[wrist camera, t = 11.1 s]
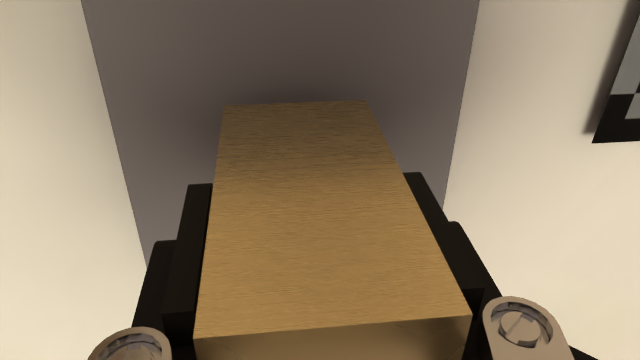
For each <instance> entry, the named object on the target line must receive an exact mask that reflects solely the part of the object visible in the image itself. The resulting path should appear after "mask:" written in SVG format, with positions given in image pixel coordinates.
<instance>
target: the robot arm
mask: <svg viewBox="0 0 640 360" xmlns="http://www.w3.org/2000/svg"><path fill="white" fill-rule="evenodd" d="M403 175H404V177H405V179H406V181H407V183H408V185H409V187H410V189H411V191H412V193H413V195H414V197H415V199H416V201H417V203H418V205H419V207H420V210H421V212H422V214H423V216H424V218H425V220H426V222H427V224H428V226H429V228H430V230H431V232H432V234H433V236H434V238H435V240H436V242H437V244H438V246H439V248H440V250H441V252H442V254H443V256H444V258H445V260H446V262H447V264H448V266H449V268H450V270H451V272H452V274H453V276H454V278H455V280H456V282H457V284H458V286H459V288H460V290H461V292H462V294H463V296H464V298H465V300H466V302H467V304H468V306H469V308H470V310H471V312H472V314H473V316H472V320H471V324H470V328H469V332H468V336H467V340H466V344H465V347H464V351H463V355H462V359H461V360H598V359H596V358H594V357H592V356H590V355H588V354H586V353H584V352H582V351H579V350H577V349H575V348H573V347H571V346H569V345H568V343H567V341H566V339H565V337H564V334H563V332H562V330H561V328H560V326H559V324H558V322H557V321H556V319H555V318H554V317H553V316H552V315H551V314H550V313H549V312H548V311H547V310H546V309H545V308H543V307H541V306H540V305H538V304H537V303H535V302H532V301H530V300H527V299H524V298H520V297H514V296H505V297H503V296H502V295H501V293H500V291H499V290H498V288H497V286H496V284H495V283H494V281H493V279H492V278H491V276H490V274H489V273H488V271H487V269H486V267H485V266H484V264H483V262H482V261H481V259H480V257H479V255H478V254H477V252H476V250H475V249H474V247H473V245H472V244H471V242H470V240H469V238H468V237H467V235H466V233H465V232H464V230H463V228H462V227H461V225H460V224H459V223H458V222H456V221H451V222H449V221H448V219H447V218H446V216H445V214H444V212H443V211H442V209H441V207H440V205H439V203H438V202H437V200H436V198H435V196H434V194H433V193H432V191H431V189H430V187H429V185H428V184H427V182H426V180H425V178H424V177H423V175H422V173H421V172H405V173H403ZM212 191H213V184H212V183H203V184H189V185H188V187H187V192H186V196H185V201H184V206H183V210H182V215H181V220H180V224H179V229H178V234H177V239H176V240H162V241H156V242H155V243H154V246H153V249H152V253H151V256H150V260H149V264H148V267H147V271H146V275H145V278H144V282H143V286H142V289H141V293H140V297H139V300H138V304H137V308H136V312H135V315H134V319H133V323H132V326H131V328H128V329H125V330H122V331H119V332H116V333H114V334H113V335H111V336H109V337H108V338H106V339H104V340H103V341H102V342H101V343H100V344H99V345H98V346H97V347H96V348H95V349H94V350H93V352H92V353H91V355H90V356H89V358H88V360H197V357H196V352H195V347H194V342H193V334H194V327H195V319H196V312H197V304H198V297H199V289H200V282H201V274H202V267H203V259H204V252H205V244H206V237H207V229H208V221H209V214H210V206H211V199H212Z"/></svg>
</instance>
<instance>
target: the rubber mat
mask: <svg viewBox="0 0 640 360" xmlns="http://www.w3.org/2000/svg"><path fill="white" fill-rule="evenodd" d="M479 1H480V0H81V3H82V7H83V11H84V15H85V19H86V23H87V28H88V32H89V36H90V40H91V44H92V48H93V52H94V56H95V60H96V64H97V68H98V72H99V76H100V80H101V84H102V88H103V92H104V96H105V100H106V104H107V108H108V112H109V116H110V121H111V125H112V129H113V133H114V137H115V141H116V145H117V149H118V153H119V157H120V161H121V165H122V169H123V173H124V177H125V181H126V185H127V189H128V193H129V197H130V201H131V205H132V210H133V214H134V218H135V222H136V226H137V230H138V234H139V238H140V242H141V246H142V250H143V254H144V258H145V262H146V266H147V267H148V264H149V260H150V256H151V253H152V249H153V246H154V243H155V242H156V241H162V240H176V239H177V234H178V229H179V224H180V220H181V215H182V210H183V206H184V201H185V196H186V192H187V187H188V185H189V184H203V183H212V184H214V176H215V169H216V161H217V154H218V146H219V139H220V131H221V124H222V116H223V108H224V105H246V104H272V103H298V102H325V101H351V100H366V101H367V103H368V105H369V107H370V109H371V111H372V113H373V115H374V117H375V119H376V121H377V123H378V125H379V127H380V129H381V131H382V133H383V135H384V137H385V139H386V141H387V143H388V145H389V147H390V149H391V151H392V153H393V155H394V157H395V159H396V161H397V163H398V165H399V167H400V169H401V171H402V173H405V172H421V173H422V175H423V177H424V178H425V180H426V182H427V184H428V185H429V187H430V189H431V191H432V193H433V194H434V196H435V198H436V200H437V202H438V203H439V205H440V207H441V209H442V210H443V204H444V199H445V193H446V187H447V182H448V176H449V170H450V165H451V159H452V153H453V148H454V142H455V137H456V131H457V125H458V120H459V114H460V108H461V103H462V97H463V91H464V86H465V80H466V75H467V69H468V63H469V58H470V52H471V46H472V41H473V35H474V29H475V24H476V18H477V12H478V7H479Z"/></svg>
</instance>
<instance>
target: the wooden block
mask: <svg viewBox="0 0 640 360" xmlns="http://www.w3.org/2000/svg"><path fill="white" fill-rule="evenodd" d="M472 316H473V314H472V312H471V310H470V308H469V306H468V304H467V302H466V300H465V298H464V296H463V294H462V292H461V290H460V288H459V286H458V284H457V282H456V280H455V278H454V276H453V274H452V272H451V270H450V268H449V266H448V264H447V262H446V260H445V258H444V256H443V254H442V252H441V250H440V248H439V246H438V244H437V242H436V240H435V238H434V236H433V234H432V232H431V230H430V228H429V226H428V224H427V222H426V220H425V218H424V216H423V214H422V212H421V210H420V207H419V205H418V203H417V201H416V199H415V197H414V195H413V193H412V191H411V189H410V187H409V185H408V183H407V181H406V179H405V177H404V175H403V173H402V171H401V169H400V167H399V165H398V163H397V161H396V159H395V157H394V155H393V153H392V151H391V149H390V147H389V145H388V143H387V141H386V139H385V137H384V135H383V133H382V131H381V129H380V127H379V125H378V123H377V121H376V119H375V117H374V115H373V113H372V111H371V109H370V107H369V105H368V103H367V101H366V100H351V101H325V102H298V103H272V104H246V105H224V108H223V116H222V124H221V131H220V139H219V146H218V154H217V161H216V169H215V176H214V184H213V191H212V199H211V206H210V214H209V221H208V229H207V237H206V244H205V252H204V259H203V267H202V274H201V282H200V289H199V297H198V304H197V312H196V319H195V327H194V334H193V342H194V347H195V352H196V357H197V360H461V359H462V355H463V351H464V347H465V344H466V340H467V336H468V332H469V328H470V324H471V320H472Z"/></svg>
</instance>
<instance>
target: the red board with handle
mask: <svg viewBox="0 0 640 360" xmlns="http://www.w3.org/2000/svg"><path fill="white" fill-rule="evenodd" d="M630 141H640V15H639V18H638V21H637V23H636V26H635V29H634V31H633V34H632V37H631V39H630V42H629V45H628V47H627V50H626V53H625V55H624V58H623V61H622V63H621V66H620V69H619V71H618V74H617V77H616V79H615V82H614V85H613V87H612V90H611V93H610V95H609V98H608V101H607V103H606V106H605V109H604V111H603V114H602V117H601V119H600V122H599V125H598V127H597V130H596V133H595V135H594V138H593V140H592V143H611V142H630Z"/></svg>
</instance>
